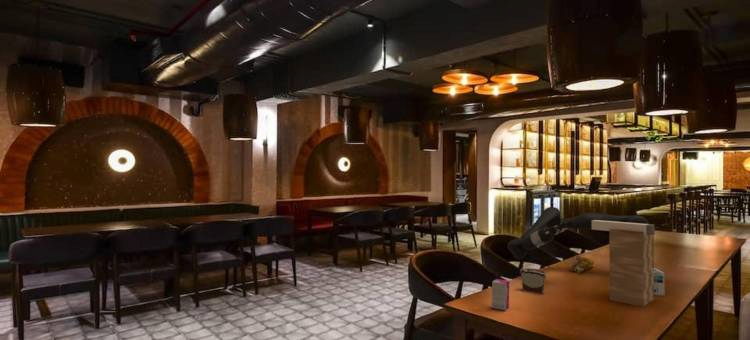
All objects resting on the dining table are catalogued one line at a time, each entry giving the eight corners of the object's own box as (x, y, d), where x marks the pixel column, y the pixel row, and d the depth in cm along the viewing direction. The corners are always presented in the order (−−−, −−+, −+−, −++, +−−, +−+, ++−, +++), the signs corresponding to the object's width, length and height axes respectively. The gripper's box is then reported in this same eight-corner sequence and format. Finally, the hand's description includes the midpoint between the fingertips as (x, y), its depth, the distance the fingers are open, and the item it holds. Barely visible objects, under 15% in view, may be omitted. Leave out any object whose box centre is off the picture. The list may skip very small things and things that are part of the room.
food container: (550, 292, 203) (550, 270, 203) (545, 295, 198) (545, 273, 198) (525, 287, 211) (525, 266, 211) (519, 290, 207) (519, 269, 207)
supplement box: (505, 311, 175) (505, 283, 175) (491, 309, 178) (491, 281, 178) (509, 307, 180) (509, 280, 180) (495, 305, 183) (495, 278, 183)
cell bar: (595, 228, 201) (595, 219, 201) (654, 234, 183) (654, 224, 183) (591, 229, 198) (591, 220, 198) (651, 235, 180) (651, 225, 180)
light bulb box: (665, 296, 196) (665, 272, 196) (648, 295, 198) (648, 271, 198) (654, 289, 207) (654, 267, 207) (639, 289, 208) (639, 266, 208)
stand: (621, 293, 201) (621, 225, 201) (653, 299, 191) (653, 228, 191) (609, 299, 191) (609, 228, 191) (643, 306, 181) (642, 231, 181)
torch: (593, 273, 255) (577, 275, 238) (581, 265, 261) (565, 266, 243) (601, 261, 253) (585, 262, 236) (588, 253, 259) (572, 254, 241)
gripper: (552, 242, 226) (579, 229, 216) (539, 245, 217) (567, 231, 206) (545, 228, 229) (572, 215, 219) (531, 231, 219) (559, 217, 209)
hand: (569, 223), depth 212 cm, fingers open, 8 cm apart
